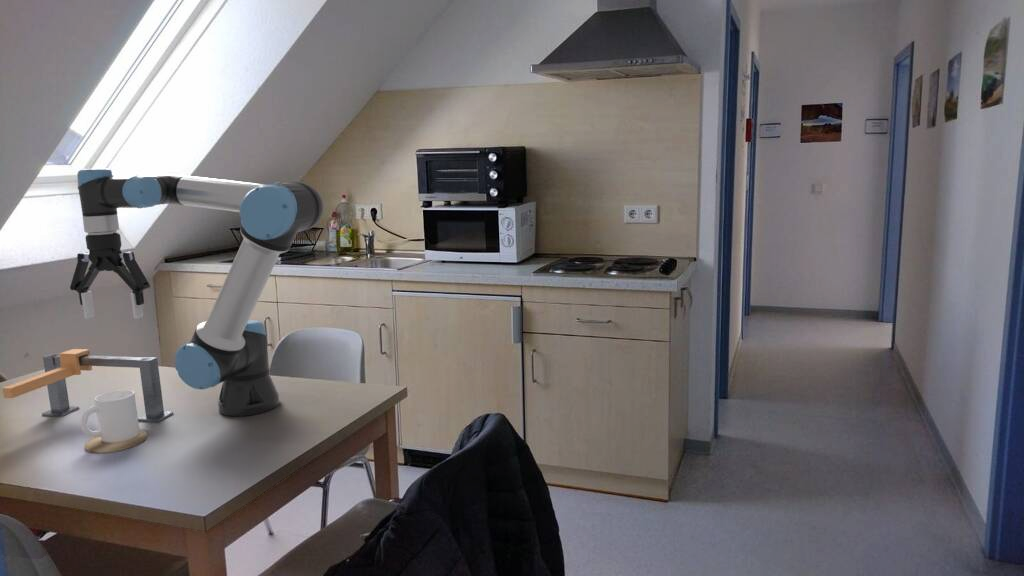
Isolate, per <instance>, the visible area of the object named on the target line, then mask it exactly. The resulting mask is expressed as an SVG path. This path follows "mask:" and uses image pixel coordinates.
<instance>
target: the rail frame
mask: <svg viewBox="0 0 1024 576" xmlns="http://www.w3.org/2000/svg"><path fill="white" fill-rule="evenodd" d="M59 355H60V354H59V353H51V354H48V355H44V356H42V359H43V360H42V361H43V368H44V373H46V372H48V371H51V370H54V369H57V368H59V367H61V363H60V356H59ZM79 364H80V365H81V366H92V367H109V368H110V367H111V368H112V367H114V368H132V369H133V368H136V369H137V368H138V369H139V372H140V379H141V388H142V396H143V404H144V412H145V414H143V415H142V416H140V417H138V422H146V423H148V422H149V423H160V422H161V421H163V420H165V419H167V418H169V417H170V416H172V415H174V411H168V410H166V411H165V409H164V401H163V395H162V385H161V384H162V383H161V378H160V377H161V376H160V370H159V361H158V357H157V356H156V357H153V356H151V357H149V356H147V357H143V356H142V357H141V356H140V357H139V356H138V357H137V356H116V355H115V356H113V355H91V354H90V355H83V356H80V357H79ZM46 387H47V394H48V399H49V405H50V409H49V410H46V411H45V412H41V415H42V417H43V416H44V417H63V416H65V415H69V414H70V413H73V412H75V411H78V410H80V407H79V406H74V405H70V402H69V401H70V400H69V394H68V388H67V380H66V378H65V379H62V380H59V381H57V382H54V383H51V384H49V385H46Z"/></svg>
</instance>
